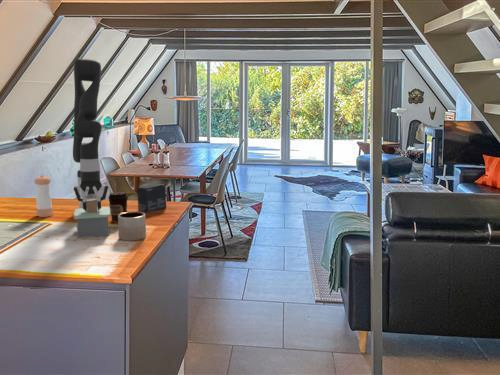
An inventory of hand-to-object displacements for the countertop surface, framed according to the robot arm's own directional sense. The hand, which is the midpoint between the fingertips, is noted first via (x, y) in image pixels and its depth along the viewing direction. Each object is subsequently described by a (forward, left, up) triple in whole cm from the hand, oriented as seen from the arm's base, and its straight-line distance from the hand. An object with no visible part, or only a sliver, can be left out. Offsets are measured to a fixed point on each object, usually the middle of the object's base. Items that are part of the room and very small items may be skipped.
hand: (92, 210), depth 210 cm
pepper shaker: (-36, -22, -10) cm, 43 cm away
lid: (0, 0, -2) cm, 2 cm away
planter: (+11, +15, -10) cm, 21 cm away
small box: (-36, +28, -10) cm, 47 cm away
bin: (0, 0, -10) cm, 10 cm away
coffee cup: (-16, +11, -10) cm, 22 cm away
